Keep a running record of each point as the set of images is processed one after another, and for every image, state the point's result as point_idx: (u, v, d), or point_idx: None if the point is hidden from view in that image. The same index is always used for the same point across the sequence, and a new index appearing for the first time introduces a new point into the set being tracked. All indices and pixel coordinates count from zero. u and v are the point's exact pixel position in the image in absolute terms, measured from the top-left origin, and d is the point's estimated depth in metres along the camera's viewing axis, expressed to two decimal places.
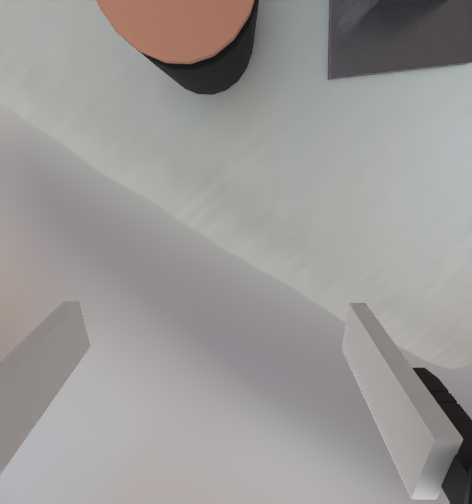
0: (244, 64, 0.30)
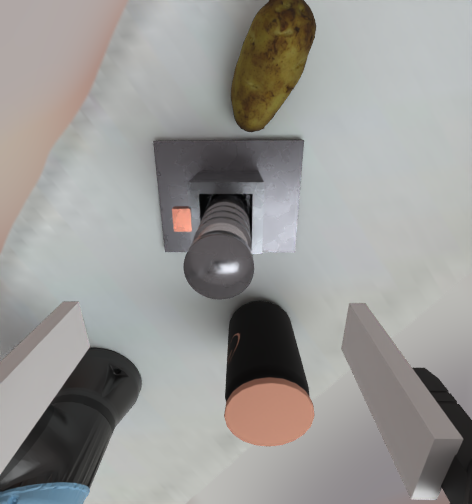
0: (284, 321, 0.44)
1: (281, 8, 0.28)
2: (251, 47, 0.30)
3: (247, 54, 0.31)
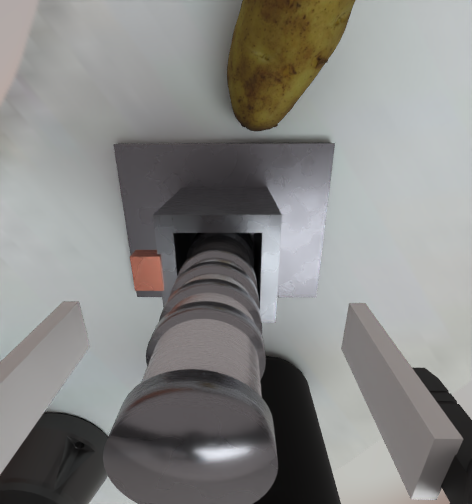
0: (302, 393, 0.32)
1: None
2: None
3: (253, 3, 0.19)
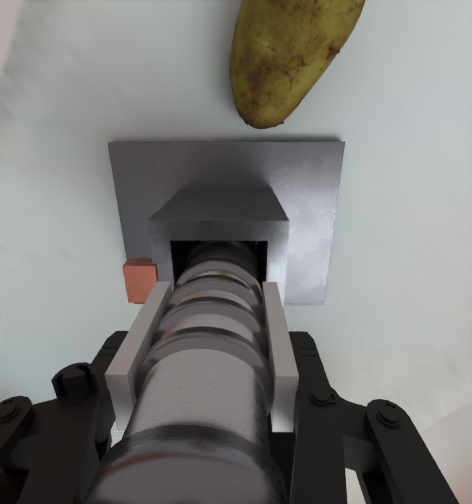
0: None
1: None
2: None
3: None
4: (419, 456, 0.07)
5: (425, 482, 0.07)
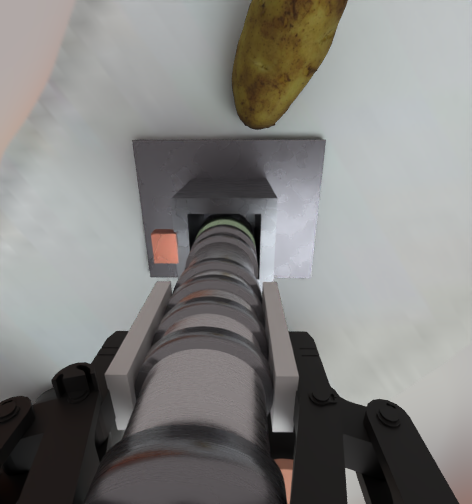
0: None
1: None
2: (260, 11, 0.22)
3: (254, 22, 0.22)
4: (418, 456, 0.07)
5: (425, 482, 0.07)
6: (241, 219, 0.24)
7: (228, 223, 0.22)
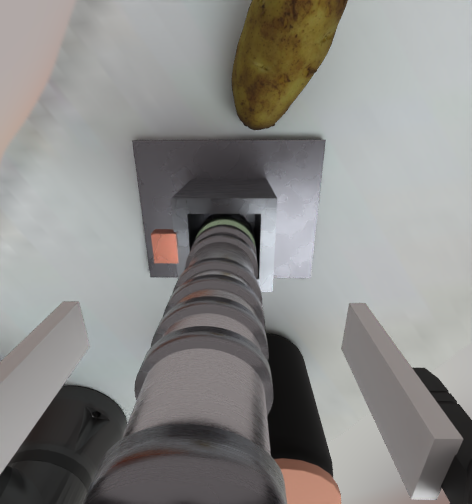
0: (297, 364, 0.36)
1: None
2: (260, 12, 0.22)
3: (254, 22, 0.22)
4: None
5: None
6: (241, 219, 0.24)
7: (228, 223, 0.22)
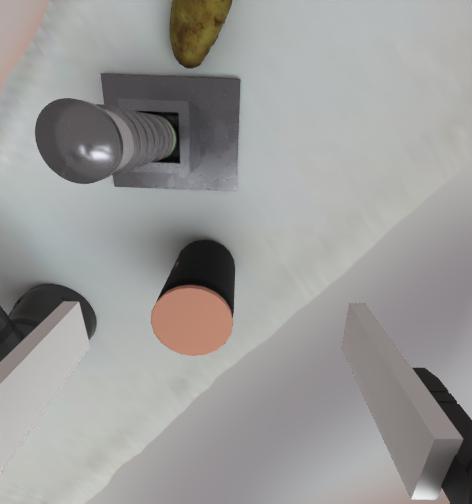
0: (223, 256, 0.48)
1: None
2: None
3: None
4: None
5: None
6: (168, 121, 0.36)
7: None
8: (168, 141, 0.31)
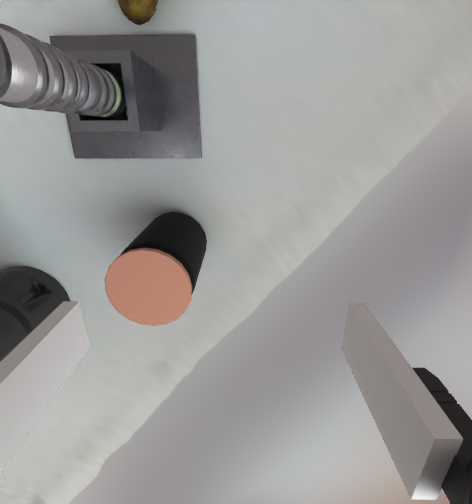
0: (190, 226, 0.45)
1: None
2: None
3: None
4: None
5: None
6: (114, 75, 0.34)
7: None
8: (106, 90, 0.30)
